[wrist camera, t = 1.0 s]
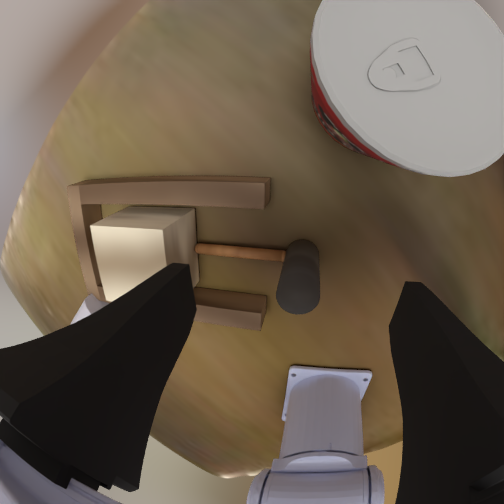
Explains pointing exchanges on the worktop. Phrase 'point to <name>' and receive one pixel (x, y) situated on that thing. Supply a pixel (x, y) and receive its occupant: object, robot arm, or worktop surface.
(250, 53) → the worktop surface
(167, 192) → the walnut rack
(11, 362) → the robot arm
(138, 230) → the cream grey uneven dumbbell
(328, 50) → the canned food
